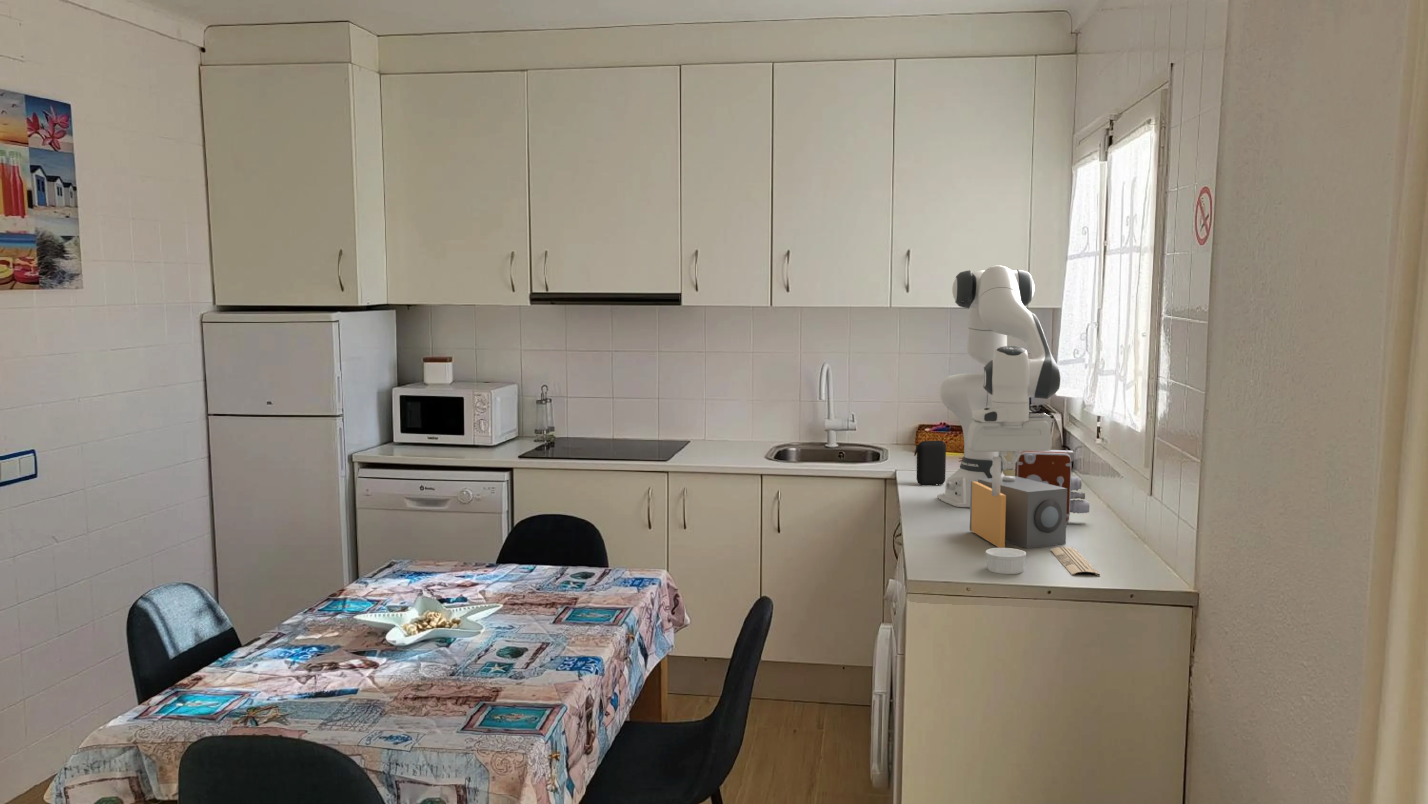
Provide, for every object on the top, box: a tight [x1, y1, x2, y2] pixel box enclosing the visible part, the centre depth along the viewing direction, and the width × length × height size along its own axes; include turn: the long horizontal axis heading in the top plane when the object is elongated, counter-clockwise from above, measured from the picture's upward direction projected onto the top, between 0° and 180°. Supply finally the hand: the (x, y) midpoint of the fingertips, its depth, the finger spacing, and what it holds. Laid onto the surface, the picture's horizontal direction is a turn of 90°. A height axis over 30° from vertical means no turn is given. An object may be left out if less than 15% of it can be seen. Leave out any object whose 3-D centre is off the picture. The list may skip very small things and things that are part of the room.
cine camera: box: [1015, 449, 1090, 525], centre depth 292 cm, size 9×19×20 cm, turn 78°
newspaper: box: [1050, 546, 1101, 577], centre depth 248 cm, size 24×7×2 cm, turn 174°
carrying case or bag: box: [913, 440, 947, 486], centre depth 350 cm, size 11×3×15 cm, turn 99°
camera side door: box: [969, 456, 1006, 548], centre depth 270 cm, size 21×2×22 cm, turn 7°
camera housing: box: [978, 476, 1067, 549], centre depth 273 cm, size 21×12×15 cm, turn 23°
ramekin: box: [985, 547, 1027, 575], centre depth 242 cm, size 9×9×4 cm
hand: (1008, 469), depth 262 cm, fingers closed
